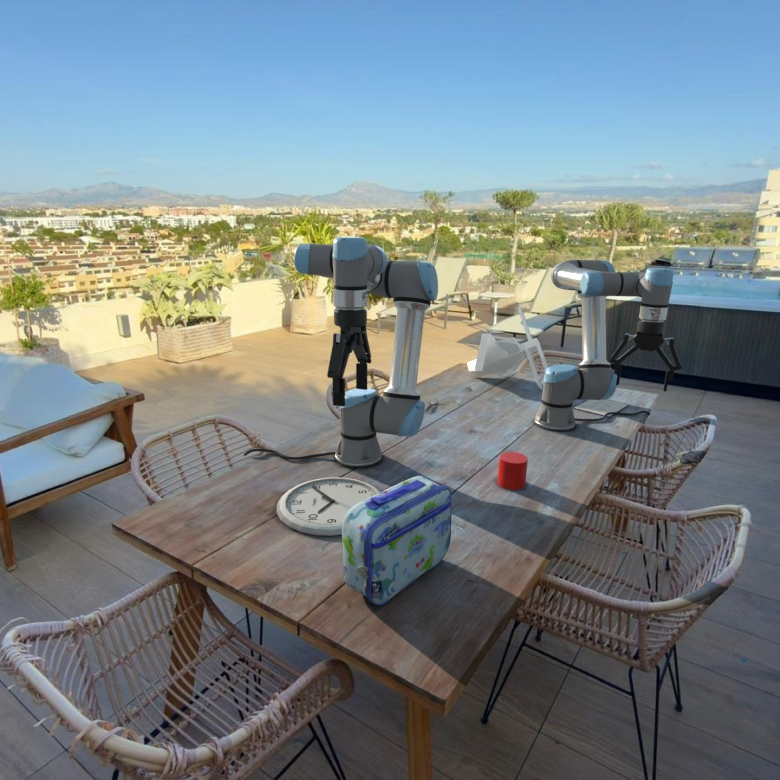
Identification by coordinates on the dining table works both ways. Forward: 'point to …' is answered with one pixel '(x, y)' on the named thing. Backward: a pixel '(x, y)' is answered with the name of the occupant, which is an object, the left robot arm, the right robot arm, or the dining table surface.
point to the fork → (432, 403)
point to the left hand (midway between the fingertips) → (350, 396)
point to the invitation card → (601, 406)
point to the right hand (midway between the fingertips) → (640, 387)
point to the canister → (512, 470)
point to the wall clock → (322, 504)
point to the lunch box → (395, 537)
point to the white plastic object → (505, 354)
